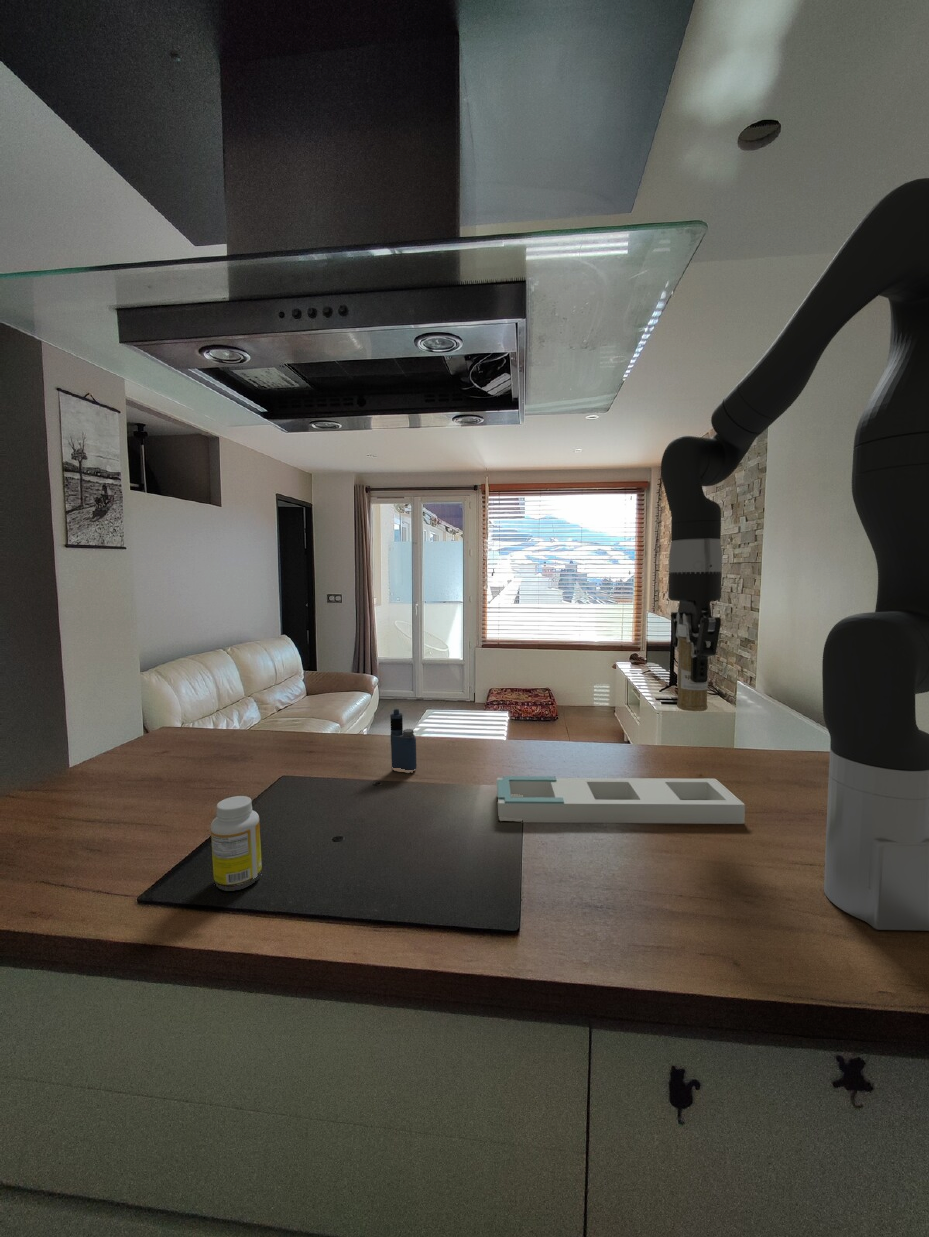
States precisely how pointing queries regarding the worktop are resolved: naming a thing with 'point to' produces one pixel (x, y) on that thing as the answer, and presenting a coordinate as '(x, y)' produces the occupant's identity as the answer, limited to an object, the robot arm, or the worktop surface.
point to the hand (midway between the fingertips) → (692, 678)
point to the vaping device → (402, 744)
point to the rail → (644, 802)
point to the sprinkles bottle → (689, 678)
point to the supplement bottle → (235, 842)
